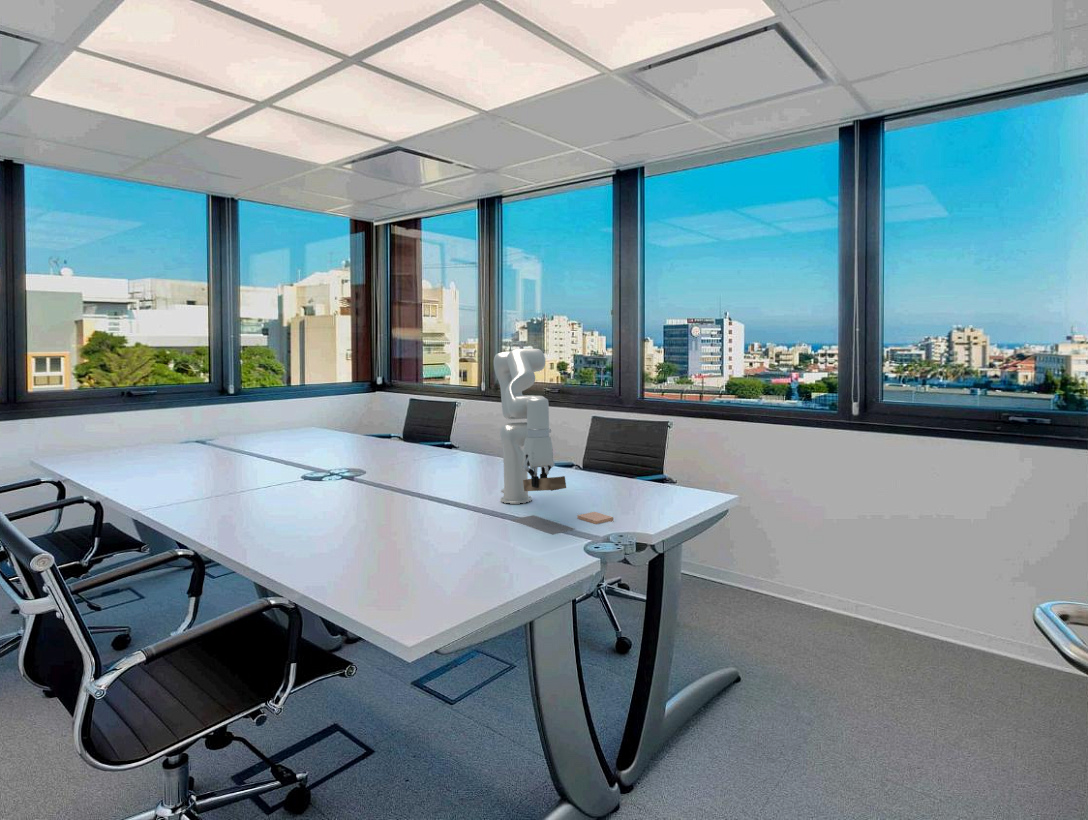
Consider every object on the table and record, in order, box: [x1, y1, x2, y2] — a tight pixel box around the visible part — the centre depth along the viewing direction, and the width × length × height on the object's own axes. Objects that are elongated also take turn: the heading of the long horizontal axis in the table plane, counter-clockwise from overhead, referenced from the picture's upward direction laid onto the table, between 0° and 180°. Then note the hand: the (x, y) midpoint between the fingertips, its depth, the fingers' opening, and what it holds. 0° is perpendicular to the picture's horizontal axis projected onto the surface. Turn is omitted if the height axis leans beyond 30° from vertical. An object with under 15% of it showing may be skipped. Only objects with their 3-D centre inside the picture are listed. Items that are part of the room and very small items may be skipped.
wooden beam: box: [523, 475, 567, 492], centre depth 224 cm, size 18×6×4 cm, turn 38°
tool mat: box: [511, 514, 576, 535], centre depth 224 cm, size 24×10×1 cm, turn 38°
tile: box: [576, 511, 614, 525], centre depth 229 cm, size 2×8×10 cm
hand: (539, 486), depth 225 cm, fingers closed on wooden beam, 3 cm apart
